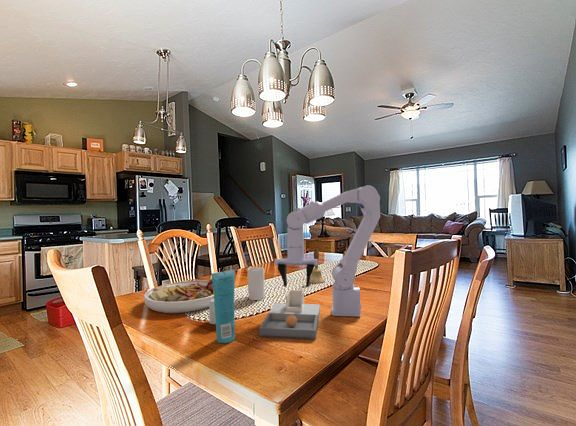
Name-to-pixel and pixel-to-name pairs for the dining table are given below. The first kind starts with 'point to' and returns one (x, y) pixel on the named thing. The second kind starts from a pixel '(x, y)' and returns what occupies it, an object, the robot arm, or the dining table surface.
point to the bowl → (180, 296)
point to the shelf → (306, 315)
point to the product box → (212, 312)
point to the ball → (291, 320)
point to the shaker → (295, 300)
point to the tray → (288, 328)
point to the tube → (224, 305)
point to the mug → (256, 283)
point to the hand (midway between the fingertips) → (296, 286)
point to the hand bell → (316, 271)
